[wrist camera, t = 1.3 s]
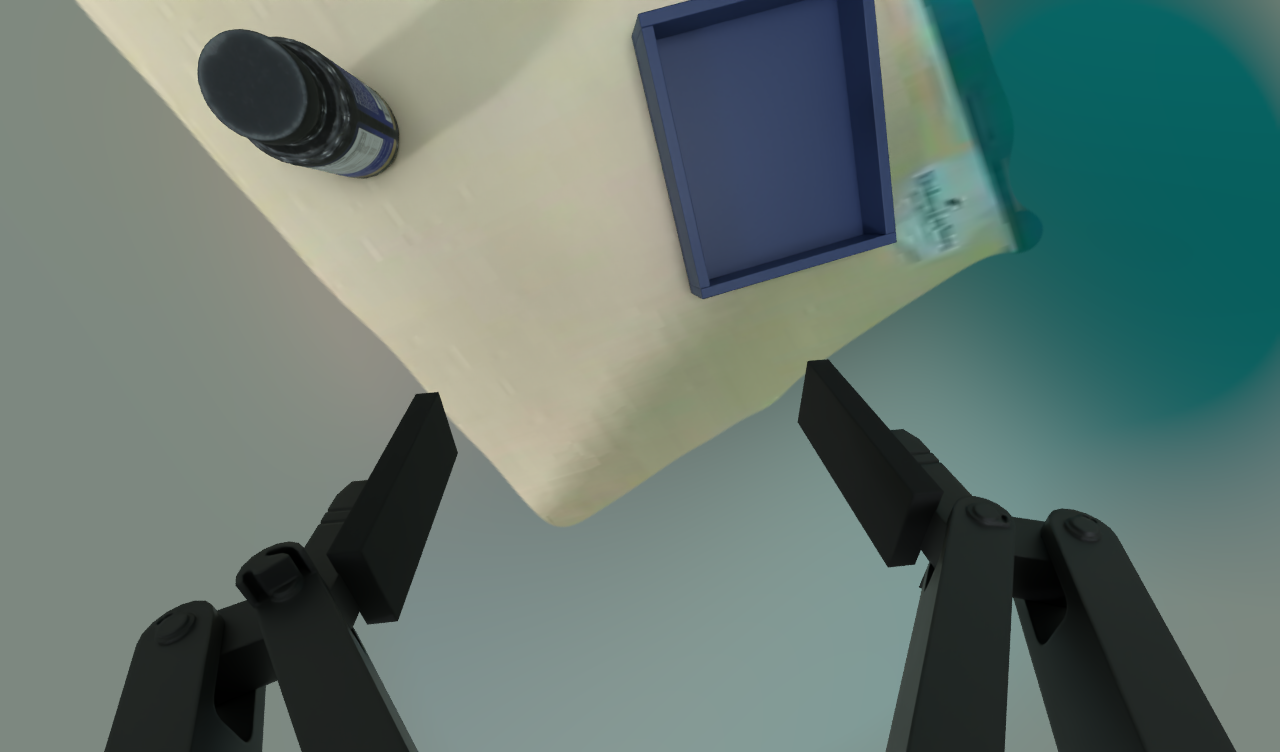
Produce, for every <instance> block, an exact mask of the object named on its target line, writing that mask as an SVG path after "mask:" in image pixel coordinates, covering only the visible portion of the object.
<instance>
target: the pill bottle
mask: <svg viewBox="0 0 1280 752" xmlns="http://www.w3.org/2000/svg"><path fill="white" fill-rule="evenodd" d="M198 82H199V85H200V89H201V92H202V94H203V97H204V99H205V101H206V103H207V105H208V106H209V108H210V109H211V111H212V112H213V113H214V114H215V115H216V117H217V118H218V119H219V120H220V121H221V122H222V123H223V124H225V125H226V126H227V127H228V128H229V129H231V130H233V131H234V132H236V133H238V134H239V135H241V136H244V137H247V138H248V139H249V140H250V141H251V142H252V143H253V144H254V145H255V146H256V147H258V148H259V149H260V150H261V151H263V152H265V153H266V154H268V155H269V156H271V157H274V158H276V159H278V160H280V161H282V162H286V163H290V164H293V165H297V166H302V167H307V168H312V169H316V170H320V171H325V172H329V173H334V174H338V175H342V176H347V177H352V178H369V177H372V176H375V175H378V174H380V173H381V172H383V171H384V170H385V169H387V167H388V166H389V165H390V164H391V163H392V162H393V161H394V158H395V156H396V153H397V150H398V141H399V131H398V126H397V122H396V120H395V117H394V115H393V113H392V111H391V109H390V107H389V106H388V105H387V103H386V102H385V101H384V100H383V99H382V98H381V96H380V95H379V94H378V93H377V92H376V91H374V90H373V89H371V88H370V87H368V86H367V85H365V84H364V83H363V82H361V81H360V80H358V79H357V78H355V77H354V76H352V75H351V74H350V73H348V72H347V71H345V70H344V69H342V68H341V67H339V66H338V65H337V64H335V63H334V62H332V61H331V60H329V59H328V58H326V57H325V56H324V55H322V54H321V53H319V52H318V51H316V50H315V49H313V48H311V47H310V46H307V45H306V44H304V43H301V42H298V41H296V40H293V39H288V38H284V37H267V36H265V35H263V34H260V33H257V32H254V31H250V30H244V29H235V30H228V31H224V32H222V33H220V34H218V35H217V36H215V37H214V38H212V39H211V40H210V41H209V42H208V43H207V44H206V45H205V46H204V49H203V50H202V52H201V54H200V58H199V62H198Z"/></svg>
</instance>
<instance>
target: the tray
mask: <svg viewBox="0 0 1280 752" xmlns="http://www.w3.org/2000/svg"><path fill="white" fill-rule="evenodd" d="M632 40H633V45H634V49H635V53H636V57H637V62H638V66H639V70H640V75H641V79H642V83H643V87H644V92H645V96H646V100H647V105H648V109H649V113H650V117H651V122H652V126H653V130H654V134H655V139H656V143H657V147H658V152H659V156H660V160H661V164H662V169H663V173H664V177H665V182H666V186H667V190H668V194H669V199H670V203H671V207H672V211H673V216H674V220H675V224H676V229H677V233H678V237H679V241H680V246H681V250H682V254H683V259H684V263H685V267H686V271H687V276H688V280H689V284H690V289H691V293H692V294H694V295H696V296H698V297H700V298H702V299H705V298H709V297H712V296H715V295H719V294H722V293H726V292H729V291H732V290H736V289H739V288H743V287H746V286H749V285H753V284H756V283H760V282H763V281H766V280H770V279H773V278H777V277H780V276H783V275H787V274H790V273H794V272H797V271H800V270H804V269H807V268H810V267H814V266H817V265H821V264H824V263H827V262H831V261H834V260H838V259H841V258H844V257H848V256H851V255H855V254H858V253H861V252H865V251H868V250H872V249H875V248H878V247H882V246H885V245H889V244H892V243H895V242H897V240H896V232H895V231H896V229H895V219H894V208H893V197H892V186H891V176H890V165H889V154H888V143H887V133H886V122H885V111H884V100H883V90H882V79H881V68H880V57H879V47H878V36H877V25H876V14H875V4H874V0H689V1H685V2H682V3H678V4H674V5H670V6H666V7H663V8H659V9H655V10H651V11H647V12H644V13H640V14H638V17H637V20H636V23H635V27H634V30H633V33H632Z"/></svg>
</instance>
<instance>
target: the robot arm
mask: <svg viewBox="0 0 1280 752" xmlns="http://www.w3.org/2000/svg"><path fill="white" fill-rule="evenodd" d="M798 423H799V425H800V426H801V428H802V430H803V431H804V433H805V435H806V436H807V438H808V439H809V441H810V443H811V444H812V446H813V448H814V449H815V450H816V452H817V454H818V456H819V457H820V459H821V460H822V462H823V464H824V465H825V467H826V468H827V470H828V472H829V473H830V475H831V477H832V478H833V480H834V481H835V483H836V484H837V486H838V488H839V489H840V491H841V492H842V494H843V496H844V497H845V499H846V501H847V502H848V504H849V506H850V507H851V509H852V510H853V512H854V513H855V515H856V517H857V518H858V520H859V522H860V523H861V525H862V526H863V528H864V530H865V531H866V533H867V535H868V536H869V538H870V539H871V541H872V543H873V544H874V546H875V547H876V549H877V550H878V552H879V554H880V555H881V557H882V559H883V560H884V562H885V563H886V565H887V566H888V567H896V566H905V565H914V564H915V563H916V560H917V558H918V555H919V553H920V550H922V552H923V553H924V555H925V556H926V557H927V559H928V560H929V564H928V567H927V569H926V572H925V574H924V577H923V579H922V581H921V583H920V586H919V587H920V588H922V591H921V596H920V600H919V605H918V609H917V614H916V618H915V623H914V627H913V632H912V636H911V641H910V645H909V650H908V654H907V659H906V663H905V667H904V672H903V677H902V681H901V685H900V690H899V694H898V699H897V704H896V708H895V713H894V717H893V721H892V726H891V730H890V735H889V740H888V744H887V748H886V752H1004V749H1005V731H1006V710H1007V690H1008V671H1009V651H1010V631H1011V612H1012V597H1013V598H1014V601H1015V605H1016V608H1017V612H1018V615H1019V619H1020V622H1021V625H1022V629H1023V632H1024V636H1025V639H1026V642H1027V646H1028V649H1029V653H1030V656H1031V660H1032V663H1033V667H1034V670H1035V673H1036V677H1037V680H1038V684H1039V687H1040V691H1041V693H1042V697H1043V701H1044V704H1045V707H1046V711H1047V714H1048V718H1049V721H1050V724H1051V728H1052V732H1053V735H1054V738H1055V742H1056V745H1057V749H1058V752H1236V750H1235V749H1234V747H1233V745H1232V743H1231V741H1230V739H1229V738H1228V736H1227V734H1226V732H1225V730H1224V729H1223V727H1222V725H1221V723H1220V721H1219V720H1218V718H1217V716H1216V714H1215V712H1214V710H1213V709H1212V707H1211V705H1210V703H1209V701H1208V700H1207V698H1206V696H1205V694H1204V693H1203V691H1202V689H1201V687H1200V685H1199V683H1198V682H1197V680H1196V678H1195V676H1194V674H1193V673H1192V671H1191V669H1190V667H1189V665H1188V664H1187V662H1186V660H1185V658H1184V656H1183V655H1182V653H1181V651H1180V649H1179V647H1178V645H1177V644H1176V642H1175V640H1174V638H1173V636H1172V635H1171V633H1170V631H1169V629H1168V627H1167V626H1166V624H1165V622H1164V620H1163V619H1162V617H1161V615H1160V613H1159V611H1158V609H1157V608H1156V606H1155V604H1154V602H1153V600H1152V599H1151V597H1150V595H1149V593H1148V592H1147V590H1146V588H1145V586H1144V584H1143V583H1142V581H1141V579H1140V577H1139V575H1138V573H1137V572H1136V570H1135V568H1134V566H1133V565H1132V563H1131V561H1130V559H1129V557H1128V555H1127V553H1126V552H1125V550H1124V548H1123V546H1122V544H1121V543H1120V541H1119V539H1118V537H1117V536H1116V535H1115V533H1114V532H1113V531H1112V530H1111V528H1109V527H1108V526H1107V525H1105V524H1104V523H1103V522H1101V521H1100V520H1098V519H1096V518H1094V517H1092V516H1090V515H1088V514H1086V513H1083V512H1079V511H1076V510H1071V509H1058V510H1054V511H1052V512H1051V514H1050V515H1049V516H1048V518H1047V520H1046V521H1045V522H1043V521H1037V520H1030V519H1022V518H1016V517H1012V516H1011V515H1010V514H1009V513H1008V511H1006V510H1005V509H1004V508H1002V507H1001V506H999V505H998V504H996V503H994V502H992V501H990V500H987V499H984V498H980V497H976V496H972V495H971V494H970V493H969V492H968V491H967V490H966V489H965V488H964V487H963V485H962V484H961V483H960V482H959V481H958V480H957V479H956V478H955V477H954V476H953V475H952V474H951V473H950V472H949V470H948V469H947V468H946V467H945V466H944V465H943V464H942V463H939V460H938V459H937V458H936V457H935V456H934V454H933V453H930V450H929V449H928V448H927V447H926V446H925V445H924V444H923V443H922V442H921V441H920V439H918V438H917V437H915V436H913V435H912V434H910V433H908V432H907V431H905V430H904V429H899V430H890V429H889V428H888V427H887V426H886V425H885V424H884V423H883V421H882V420H881V419H880V418H879V417H878V416H877V415H876V414H875V412H874V411H873V410H872V409H871V408H870V407H869V406H868V404H867V403H866V402H865V401H864V400H863V399H862V397H861V396H860V395H859V394H858V393H857V392H856V391H855V390H854V388H853V387H852V386H851V385H850V384H849V383H848V381H847V380H846V379H845V378H844V377H843V376H842V375H841V374H840V373H839V371H838V370H837V369H836V368H835V367H834V365H833V364H832V363H831V362H830V361H829V360H828V359H827V360H815V361H808V362H807V368H806V374H805V380H804V386H803V393H802V399H801V405H800V411H799V417H798ZM457 454H458V452H457V449H456V446H455V443H454V440H453V436H452V433H451V430H450V427H449V424H448V420H447V417H446V414H445V411H444V408H443V405H442V401H441V398H440V395H439V392H434V393H422V394H416V395H415V397H414V399H413V400H412V402H411V404H410V406H409V407H408V409H407V411H406V413H405V415H404V416H403V418H402V420H401V422H400V424H399V425H398V427H397V429H396V431H395V432H394V434H393V436H392V438H391V439H390V441H389V443H388V445H387V447H386V448H385V450H384V452H383V454H382V456H381V457H380V459H379V461H378V463H377V464H376V466H375V468H374V470H373V472H372V473H371V475H370V477H369V479H368V480H364V481H354V482H351V483H350V484H349V485H348V486H346V487H345V488H344V489H343V490H342V491H341V492H340V493H339V494H337V496H336V497H335V499H334V500H333V502H332V504H331V505H330V507H329V509H328V512H327V513H325V515H324V517H323V518H322V520H321V524H320V525H318V526H317V528H316V530H315V531H314V533H313V535H312V536H311V538H310V539H309V541H308V543H307V544H306V546H305V548H304V547H302V546H301V545H300V544H299V543H295V542H284V543H279V544H275V545H273V546H271V547H268V548H266V549H264V550H262V551H261V552H259V553H258V554H256V555H254V556H253V557H251V559H249V561H247V563H245V564H244V565H243V566H242V567H241V569H240V571H239V572H238V574H237V576H236V586H237V588H238V589H239V590H240V592H241V593H242V594H243V595H244V597H245V598H246V599H247V600H246V601H243V602H240V603H237V604H235V605H232V606H229V607H226V608H223V609H220V610H218V611H217V610H216V609H215V608H214V607H213V606H212V605H211V604H210V603H208V602H207V601H192V602H189V603H185V604H182V605H180V606H178V607H176V608H174V609H172V610H170V611H168V612H166V613H165V614H164V615H162V616H161V617H160V618H158V619H157V620H156V621H154V622H153V623H152V624H151V625H150V626H149V627H148V628H147V629H146V630H145V632H144V633H143V634H142V635H141V637H140V639H139V641H138V643H137V645H136V648H135V652H134V655H133V658H132V661H131V665H130V668H129V671H128V675H127V678H126V681H125V685H124V688H123V691H122V695H121V698H120V701H119V705H118V709H117V711H116V715H115V718H114V721H113V725H112V728H111V731H110V735H109V738H108V741H107V745H106V748H105V751H104V752H262V742H263V725H264V707H265V691H266V685H268V684H270V683H272V682H275V681H277V680H278V683H279V686H280V689H281V692H282V695H283V698H284V701H285V703H286V707H287V709H288V712H289V716H290V718H291V721H292V724H293V727H294V730H295V733H296V736H297V739H298V742H299V745H300V748H301V751H302V752H418V751H417V748H416V747H415V745H414V743H413V741H412V739H411V737H410V735H409V733H408V731H407V730H406V727H405V725H404V723H403V721H402V720H401V718H400V716H399V714H398V712H397V710H396V708H395V706H394V704H393V702H392V700H391V698H390V696H389V694H388V693H387V691H386V689H385V687H384V685H383V683H382V681H381V679H380V677H379V675H378V673H377V671H376V669H375V667H374V665H373V664H372V662H371V660H370V658H369V656H368V654H367V653H366V650H365V648H364V646H363V644H362V643H361V640H360V639H359V636H358V635H357V633H356V631H355V629H354V628H353V625H354V623H355V621H356V618H357V616H358V614H359V612H360V613H361V615H362V616H363V618H364V620H365V621H366V623H367V624H376V623H385V622H395V621H398V619H399V616H400V613H401V610H402V608H403V605H404V602H405V599H406V596H407V594H408V591H409V588H410V585H411V583H412V580H413V577H414V574H415V571H416V569H417V566H418V563H419V560H420V557H421V555H422V552H423V549H424V546H425V543H426V541H427V538H428V535H429V532H430V530H431V526H432V524H433V521H434V518H435V516H436V513H437V510H438V507H439V504H440V501H441V499H442V496H443V493H444V490H445V488H446V485H447V482H448V479H449V476H450V473H451V471H452V468H453V465H454V462H455V460H456V457H457Z"/></svg>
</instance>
